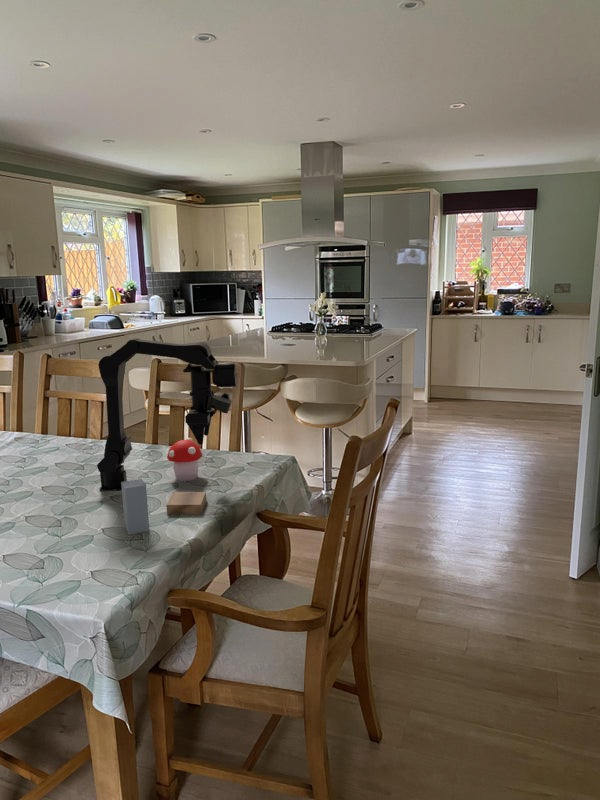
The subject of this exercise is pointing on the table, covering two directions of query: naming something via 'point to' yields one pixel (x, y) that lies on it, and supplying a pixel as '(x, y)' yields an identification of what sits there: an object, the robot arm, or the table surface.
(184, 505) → the pedestal
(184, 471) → the mushroom
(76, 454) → the table surface
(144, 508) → the pillar
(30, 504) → the table surface
